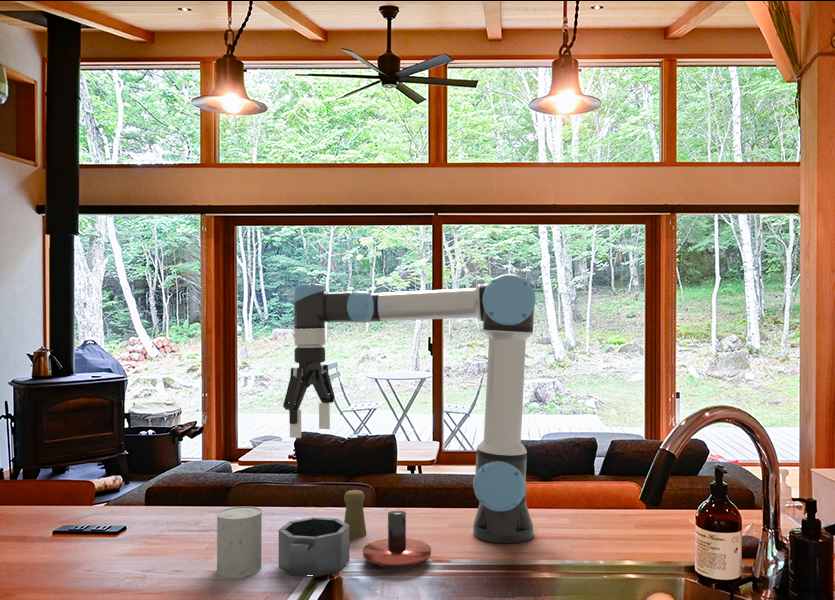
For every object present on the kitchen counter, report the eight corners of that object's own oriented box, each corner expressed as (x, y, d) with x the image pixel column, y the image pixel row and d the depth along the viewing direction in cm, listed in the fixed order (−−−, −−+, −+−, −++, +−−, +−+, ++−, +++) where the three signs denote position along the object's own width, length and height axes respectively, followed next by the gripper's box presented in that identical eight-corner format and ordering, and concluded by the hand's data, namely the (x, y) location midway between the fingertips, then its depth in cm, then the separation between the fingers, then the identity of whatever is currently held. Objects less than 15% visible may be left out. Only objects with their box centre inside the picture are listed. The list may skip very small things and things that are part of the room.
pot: (357, 551, 153) (357, 516, 153) (331, 582, 135) (331, 543, 135) (299, 547, 156) (299, 513, 156) (266, 577, 138) (266, 539, 138)
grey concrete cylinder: (221, 562, 147) (222, 507, 147) (264, 560, 148) (265, 505, 148) (212, 578, 137) (212, 519, 138) (258, 577, 138) (258, 518, 139)
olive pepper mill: (362, 539, 162) (362, 494, 162) (339, 537, 163) (339, 493, 163) (369, 531, 168) (369, 488, 168) (346, 530, 169) (346, 487, 169)
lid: (436, 553, 152) (435, 505, 152) (424, 578, 137) (423, 525, 137) (373, 549, 155) (372, 502, 155) (354, 573, 140) (354, 521, 140)
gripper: (322, 344, 175) (322, 424, 174) (267, 348, 151) (268, 440, 151) (347, 344, 172) (347, 425, 171) (295, 348, 149) (296, 442, 148)
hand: (310, 433), depth 161 cm, fingers open, 13 cm apart
